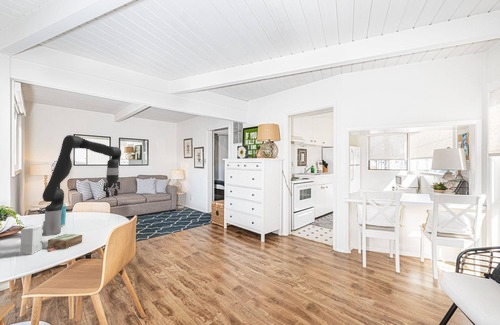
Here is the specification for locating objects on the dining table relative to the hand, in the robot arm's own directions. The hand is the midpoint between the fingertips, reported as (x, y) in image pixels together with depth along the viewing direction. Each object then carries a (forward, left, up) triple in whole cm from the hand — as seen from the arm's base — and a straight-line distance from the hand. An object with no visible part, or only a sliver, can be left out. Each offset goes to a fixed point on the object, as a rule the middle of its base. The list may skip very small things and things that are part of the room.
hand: (111, 196), depth 160 cm
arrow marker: (-16, -28, -29) cm, 44 cm away
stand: (-16, -19, -29) cm, 38 cm away
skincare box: (-25, -32, -30) cm, 50 cm away
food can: (-59, +16, -30) cm, 68 cm away
